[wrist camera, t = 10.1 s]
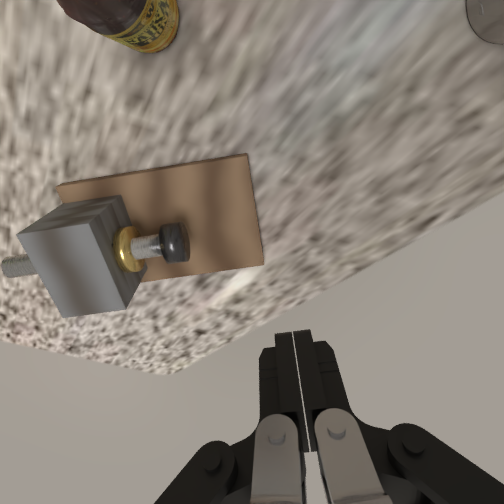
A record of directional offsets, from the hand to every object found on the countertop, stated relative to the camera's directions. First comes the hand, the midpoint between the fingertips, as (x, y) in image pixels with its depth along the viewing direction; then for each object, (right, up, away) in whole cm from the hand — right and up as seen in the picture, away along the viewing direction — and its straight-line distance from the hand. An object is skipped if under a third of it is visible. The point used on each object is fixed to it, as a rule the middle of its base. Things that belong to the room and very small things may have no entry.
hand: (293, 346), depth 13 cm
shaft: (-19, +5, +24) cm, 31 cm away
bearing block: (-12, +8, +26) cm, 30 cm away
